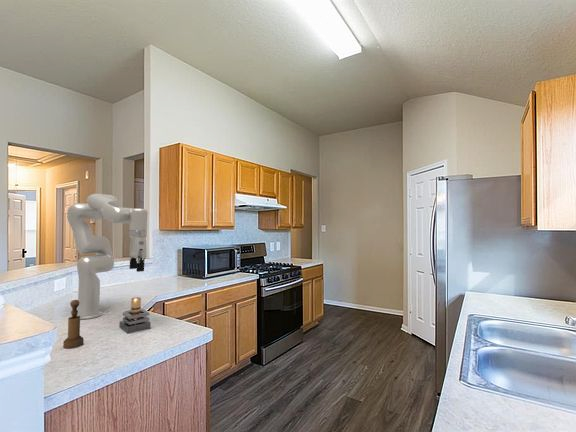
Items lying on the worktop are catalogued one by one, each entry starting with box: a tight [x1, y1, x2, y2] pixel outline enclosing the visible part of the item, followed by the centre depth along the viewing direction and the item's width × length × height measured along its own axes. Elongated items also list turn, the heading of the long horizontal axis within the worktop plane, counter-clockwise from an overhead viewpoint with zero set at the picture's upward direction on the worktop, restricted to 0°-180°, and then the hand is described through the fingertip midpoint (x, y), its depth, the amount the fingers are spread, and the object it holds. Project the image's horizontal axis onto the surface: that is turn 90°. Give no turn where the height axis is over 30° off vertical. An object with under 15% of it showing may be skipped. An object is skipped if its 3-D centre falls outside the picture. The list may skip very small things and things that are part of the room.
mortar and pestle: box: [62, 299, 84, 349], centre depth 123 cm, size 7×6×18 cm
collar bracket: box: [118, 308, 151, 335], centre depth 144 cm, size 11×10×7 cm
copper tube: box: [130, 297, 142, 320], centre depth 144 cm, size 4×4×11 cm
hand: (136, 270), depth 148 cm, fingers open, 9 cm apart
